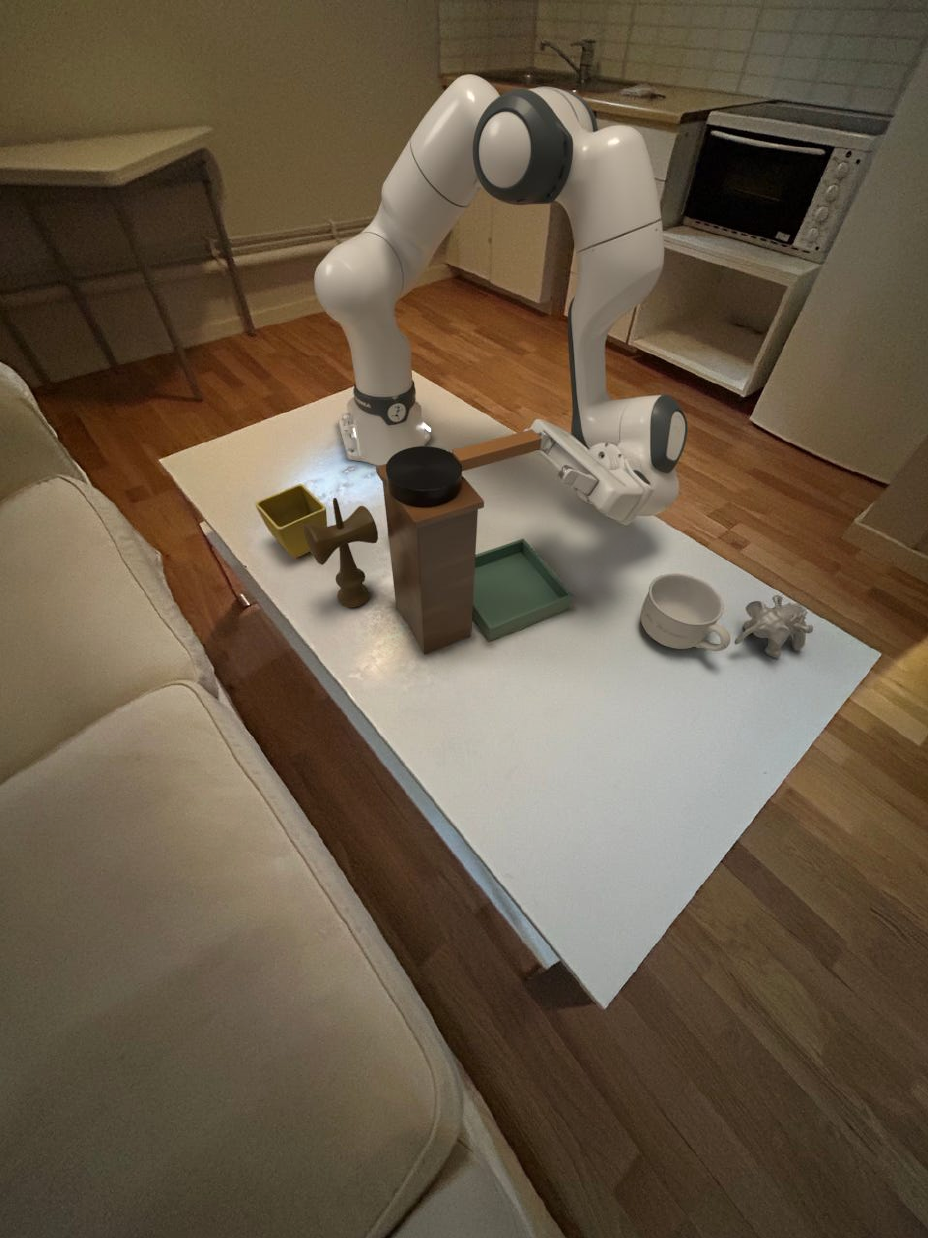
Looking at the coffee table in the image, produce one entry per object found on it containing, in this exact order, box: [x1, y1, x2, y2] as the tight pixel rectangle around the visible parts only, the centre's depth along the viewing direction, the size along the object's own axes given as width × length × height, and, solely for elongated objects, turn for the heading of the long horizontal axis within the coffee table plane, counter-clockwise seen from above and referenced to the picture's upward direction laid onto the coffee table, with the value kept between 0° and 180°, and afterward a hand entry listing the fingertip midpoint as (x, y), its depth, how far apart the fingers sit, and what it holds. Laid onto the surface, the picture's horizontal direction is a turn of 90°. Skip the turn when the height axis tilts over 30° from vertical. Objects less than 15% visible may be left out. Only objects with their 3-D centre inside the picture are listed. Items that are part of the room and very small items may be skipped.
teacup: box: [640, 572, 731, 652], centre depth 81 cm, size 14×11×8 cm
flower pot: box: [254, 483, 328, 559], centre depth 92 cm, size 9×9×9 cm
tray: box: [472, 538, 574, 642], centre depth 89 cm, size 15×15×3 cm
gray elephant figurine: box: [733, 594, 814, 659], centre depth 81 cm, size 9×12×8 cm
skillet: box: [386, 429, 542, 507], centre depth 66 cm, size 9×20×3 cm, turn 117°
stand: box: [375, 464, 485, 655], centre depth 76 cm, size 12×9×26 cm
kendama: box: [303, 497, 379, 608], centre depth 81 cm, size 6×10×20 cm, turn 122°
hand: (543, 453), depth 71 cm, fingers open, 8 cm apart
